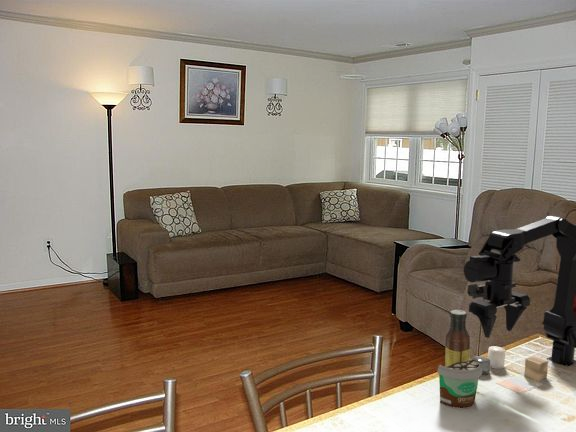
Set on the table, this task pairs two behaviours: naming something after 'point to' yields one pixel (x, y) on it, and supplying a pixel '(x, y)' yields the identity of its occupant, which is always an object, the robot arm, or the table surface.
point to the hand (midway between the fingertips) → (498, 333)
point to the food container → (459, 383)
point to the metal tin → (484, 364)
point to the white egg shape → (496, 357)
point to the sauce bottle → (457, 339)
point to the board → (522, 383)
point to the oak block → (536, 368)
